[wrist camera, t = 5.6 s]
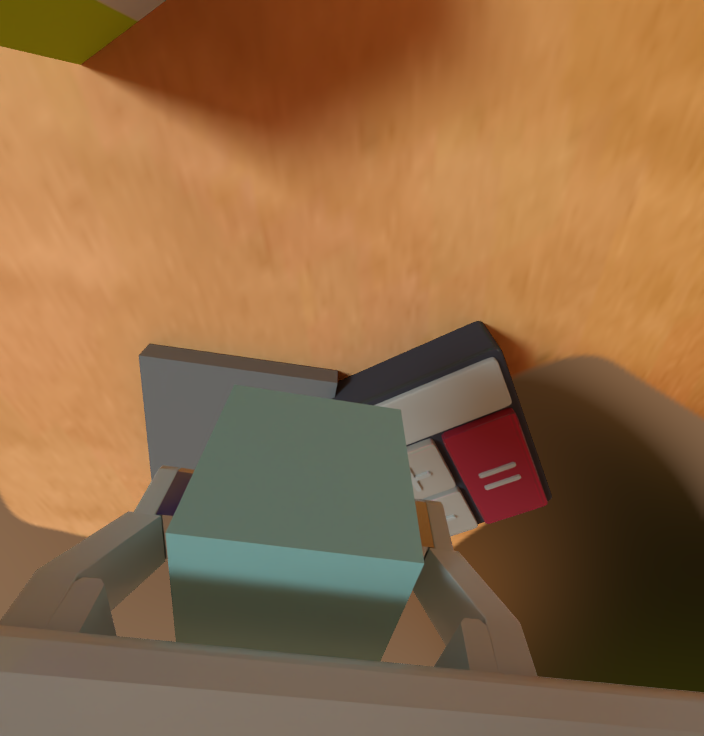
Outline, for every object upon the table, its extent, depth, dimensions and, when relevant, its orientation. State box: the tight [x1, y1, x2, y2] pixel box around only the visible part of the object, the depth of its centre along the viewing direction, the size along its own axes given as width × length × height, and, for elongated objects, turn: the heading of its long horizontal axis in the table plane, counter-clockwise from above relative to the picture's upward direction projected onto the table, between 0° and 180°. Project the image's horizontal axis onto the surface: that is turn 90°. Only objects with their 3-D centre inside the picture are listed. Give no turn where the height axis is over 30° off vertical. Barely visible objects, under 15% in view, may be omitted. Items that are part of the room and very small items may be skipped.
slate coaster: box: [139, 344, 338, 479], centre depth 28 cm, size 12×12×2 cm
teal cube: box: [165, 385, 424, 661], centre depth 11 cm, size 5×5×5 cm
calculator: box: [332, 321, 552, 536], centre depth 28 cm, size 11×4×15 cm
